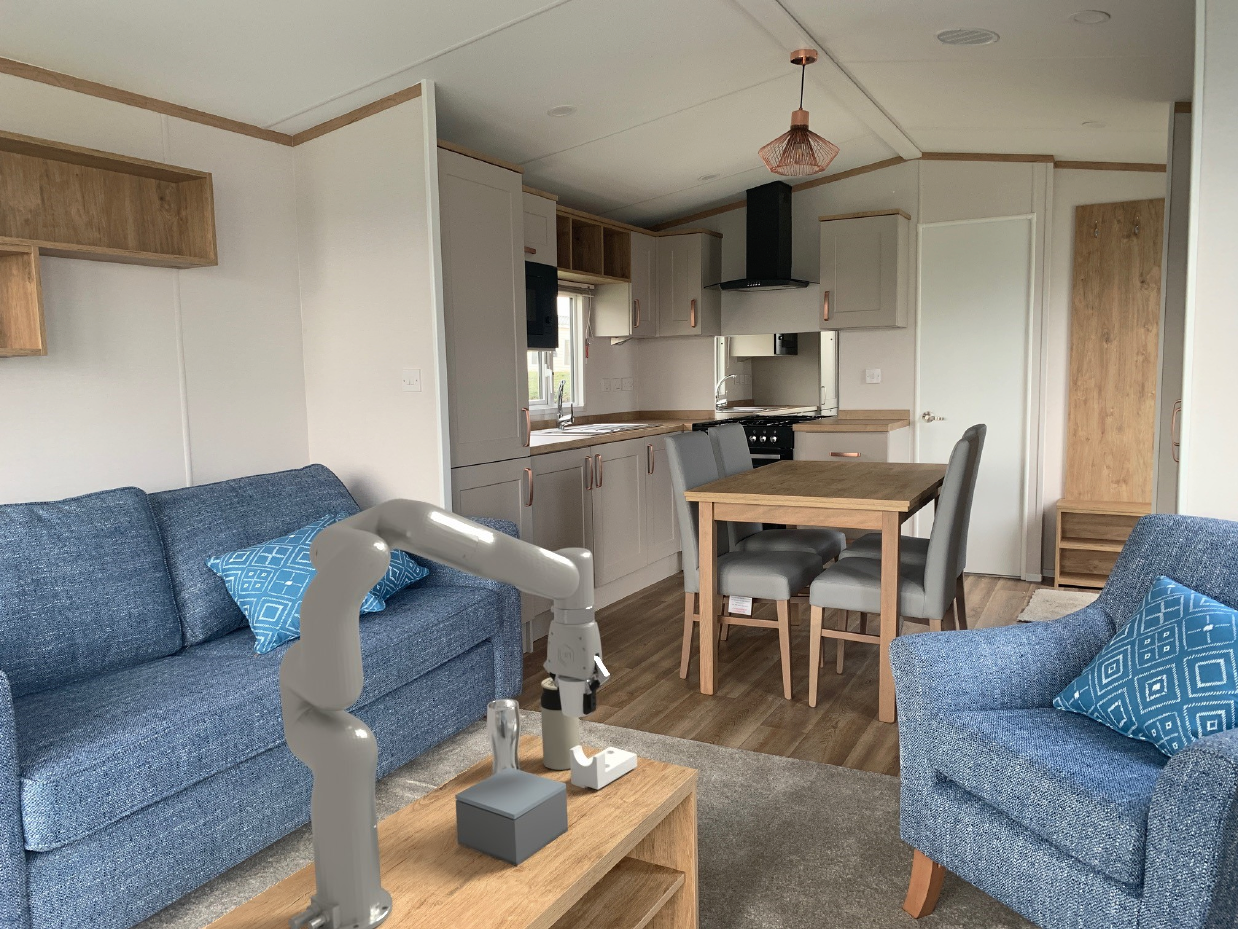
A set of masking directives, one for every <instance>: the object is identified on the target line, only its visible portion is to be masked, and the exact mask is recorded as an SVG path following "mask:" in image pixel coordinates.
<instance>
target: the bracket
mask: <svg viewBox="0 0 1238 929" xmlns="http://www.w3.org/2000/svg"><path fill="white" fill-rule="evenodd" d="M570 765H571V768H570V783H571V785H574V786H577V787H579V788H582V789H586V788H588V787H589V788H592V789H595V790H600V789H601V788H603V787H605V786H607V785H608V784H610V783H612V782H613V781H615V780H617V779H618V778H620V777H623V775H625V774H626V773H628V772H630V771H631V770H633V769H635V768H637V767H638V754H637V753H634V752H631V751H628V750H624V749H620V748H617V747H614V746H609V747H607V748H605V749H604V750H602V751H599V752H598V753H596V754H594V755H593V756H590V757H587V756H586V755H585V753H584V750H583V747H582V745H581V744H580V745H577V746H575V747H573V748H572V749H570Z"/></svg>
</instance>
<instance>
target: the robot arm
mask: <svg viewBox="0 0 1238 929" xmlns="http://www.w3.org/2000/svg"><path fill="white" fill-rule="evenodd" d="M396 549H397V550H399V551H404V552H408V553H409V554H410V553H411V554H413V555H416V556H419V557H422V558H425V559H427V560H429V561H433V562H436V563H438V564H441V565H443V566H447V567H450V568H452V569H455V570H457V571H460V572H463V573H466V574H467V575H472V576H476V577H478V578H481V579H486V580H490V581H496V582H500V583H505V584H508V585H512V586H514V587H515V588H516V589H517V590H519V591H521V592H523V593H526V594H530V595H534V596H538V597H542V598H546V599H550V600H553V605H551V606H550V613H553V617H554V618H553V619H552V620H551V621H550V625H549V630H548V635H547V638H548V639H547V648H546V649H547V650H546V651H547V653H546V654H547V657H546V660H545V661H544V662H543V668H544V669H545V671H547V673H548V674H549V678H552V679H553V681H554V686H555V687H557V698H558V708H560V709H562V707H561V699H560V691H559V683H558V676H565V677H570V678H575V679H580V680H584V681H585V692H586V693H585V694H583V713H584V714H585V715H587V716H589V715H591V714H592V713H593V712H595V711H597V691H598V690H599V689H600V688H601V687H602V686H603V685H604V683H605V682H607V681H608V680H609V679H610V678H611V675H610V673H609V672H608V670H607V669H606V667H605V665H604V664H603V654H602V642H601V635H600V630H599V626H598V622H597V621H596V620H595V594H594V593H595V589H594V588H595V586H594V559H593V558H594V557H593V556H594V555H593V554H592V552H591V550H589V549H587V548H585V547H584V548H583V547H565V548H560V549H557V550H553V551H552V550H551V551H550V550H549V549H547V548H546V549H545V548H543V547H542V546H541V547H540V546H538V545H535V544H533V543H529V542H528V541H527V542H526V541H524V540H522V539H519V538H516V537H514V536H511V535H509V534H507V533H505V532H502V531H499V530H496V529H494V528H492V527H488V526H486V525H484V524H481V523H478V522H476V521H474V520H471V519H470V518H466V517H463V515H462V516H461V515H459V514H458V513H455V512H452V511H449V510H447V509H445V508H443V507H440V506H437V505H435V504H434V503H433V504H432V503H429V502H426V501H422V500H414V499H408V498H400V497H399V498H394V499H389V500H387V501H384V502H381V503H378V504H376V505H374V506H371V507H370V508H366V509H365V510H363V511H360V512H358V513H356V514H353V515H350V516H348V517H346V518H344V519H341V520H339V521H336V522H334V523H332V524H329V525H328V526H326V527H325V528H323V529H322V530H320V531H319V532H318V533H317V534H316V535H314V537H313V539H312V541H311V543H310V546H309V551H308V552H309V554H308V556H309V557H308V558H309V560H310V563H311V566H312V568H313V569H315V571H316V572H317V573H316V574H315V575H314V577H313V578H312V579H311V581H310V583H309V584H308V585H307V587H306V589H305V591H304V594H303V597H302V599H301V603H300V606H299V639H298V640H296V641H295V642H294V643H293V644H292V645H291V646H290V647H288V649H287V650H286V652H285V653H284V655H283V657H282V660H281V662H280V667H279V671H278V673H279V674H278V678H279V679H278V681H279V682H278V684H279V692H280V703H281V711H282V712H281V713H282V721H283V723H282V724H283V731H284V736H285V737H284V738H285V741H286V744H287V746H288V749H289V751H291V753H292V754H293V755H294V756H295V758H297V759H298V760H300V762H302V763H303V764H304V765H306V767H307V768H309V770H311V771H312V774H313V786H312V792H311V800H310V818H311V819H310V820H311V828H312V844H313V846H312V847H313V859H314V874H315V875H314V876H315V888H316V889H315V890H316V893H315V894H313V895H311V896H310V899H309V900H310V904H309V905H308V906H306V908H305V910H304V911H302V912H300V913H298V914H296V915H295V916H293V917H291V918H290V919H288V927H289V928H290V929H302V928H303V927H305V926H307V929H375V928H377V927H378V926H380V925H381V924H382V923H383V922H384V921H385V920H386V919H387V918H388V917H389V916H390V914H391V912H392V910H393V896H392V895H391V893H390V892H389V891H388V890H387V889H385V888H383V887H382V879H381V865H380V849H379V848H380V847H379V846H380V845H379V829H378V814H377V812H378V811H377V801H376V774H377V768H378V767H377V766H378V759H379V758H378V757H379V747H378V742H377V738H376V737H375V735H374V732H373V731H372V730H371V728H370V727H369V726H368V725H367V724H366V723H365V722H364V721H362V719H360V718H358V717H356V716H354V715H353V714H351V713H350V712H347V711H346V710H347V709H348V708H350V707H352V706H353V705H354V704H355V703H356V702H357V701H358V699H359V698H360V696H361V694H362V691H363V688H364V669H363V659H362V648H361V637H360V612H361V608H362V604H363V602H364V600H365V598H366V597H367V596H368V594H369V593H370V591H371V590H372V589H373V588H374V587H375V586H376V585H377V584H378V583H379V582H380V581H381V580H382V579H383V577H385V575H386V574H387V572H388V570H389V567H390V563H391V552H392V551H395V550H396ZM597 675H598V676H597ZM590 678H593V683H592V684H591V685H590V682H589V679H590ZM590 713H591V714H590ZM588 714H589V715H588Z"/></svg>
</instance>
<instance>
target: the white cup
mask: <svg viewBox="0 0 1238 929" xmlns="http://www.w3.org/2000/svg"><path fill="white" fill-rule="evenodd" d="M589 682H590V685H591V684H592V683H593V678H590V679H589ZM558 683H559V691H560V699H561V707H562V713H563V715H565V716H567V717H579V718H581V717H584V718H585V717H586V716H589V715H591V714H592V713H590V714H588V715H585V714H584V713H583V694H585V693H586V692H585V681H584V680H580V679H575V678H570V677H565V676H558Z"/></svg>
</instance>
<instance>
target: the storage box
mask: <svg viewBox="0 0 1238 929" xmlns="http://www.w3.org/2000/svg"><path fill="white" fill-rule="evenodd" d="M567 797H568V796H567V788H566V789H564V790H562V791H561V792H559V793H557V794H556V795H554V796H552V797H551V798H549V799H547V800H546V801H544V802H543V803H541V804H539V805H538V806H536V807H534V808H533V809H531V810H529V811H528V812H526V813H524V814H523V815H521V816H519V817H518V818H516V819H512V818H509V817H506V816H503V815H500V814H497V813H494V812H491V811H488V810H485V809H483V808H480V807H477V806H474V805H471V804H468V803H465V802H462V801H459V800H456V799H455V814H456V816H455V817H456V834H457V845H460V846H463V847H465V848H467V849H470V850H472V851H475V852H478V853H481V854H484V855H485V856H488V857H492V858H494V859H497V860H499V861H502V862H504V863H507V864H509V865H512V866H516V867H518V866H519V865H520V864H522V863H524V862H525V861H526V860H528V859H529V858H531V857H532V856H534V855H535V854H537V853H538V852H539V851H541V850H542V849H544V848H545V847H546V846H547V845H549V844H551V843H552V842H553V841H555V840H556V839H558V838H559V837H561V836H562V835H563V834H565V833H567V832H568V831H569V828H568V827H569V822H568V799H567Z"/></svg>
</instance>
